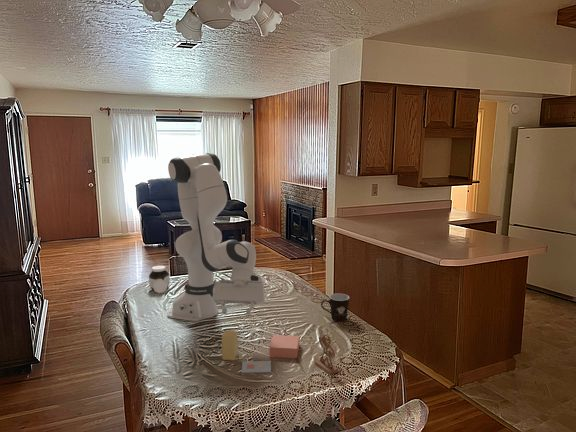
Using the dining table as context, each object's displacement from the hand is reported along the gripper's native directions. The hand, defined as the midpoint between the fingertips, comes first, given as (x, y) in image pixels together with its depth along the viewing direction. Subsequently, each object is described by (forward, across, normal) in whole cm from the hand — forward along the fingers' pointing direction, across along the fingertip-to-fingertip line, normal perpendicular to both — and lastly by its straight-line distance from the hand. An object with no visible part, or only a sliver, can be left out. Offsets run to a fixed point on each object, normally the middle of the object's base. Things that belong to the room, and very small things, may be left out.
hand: (236, 313), depth 163 cm
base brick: (+11, +18, +8) cm, 23 cm away
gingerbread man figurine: (+18, +34, +2) cm, 39 cm away
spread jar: (-31, -56, +48) cm, 79 cm away
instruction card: (+20, +10, -1) cm, 22 cm away
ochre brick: (+15, 0, +3) cm, 16 cm away
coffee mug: (-12, +36, +31) cm, 49 cm away
